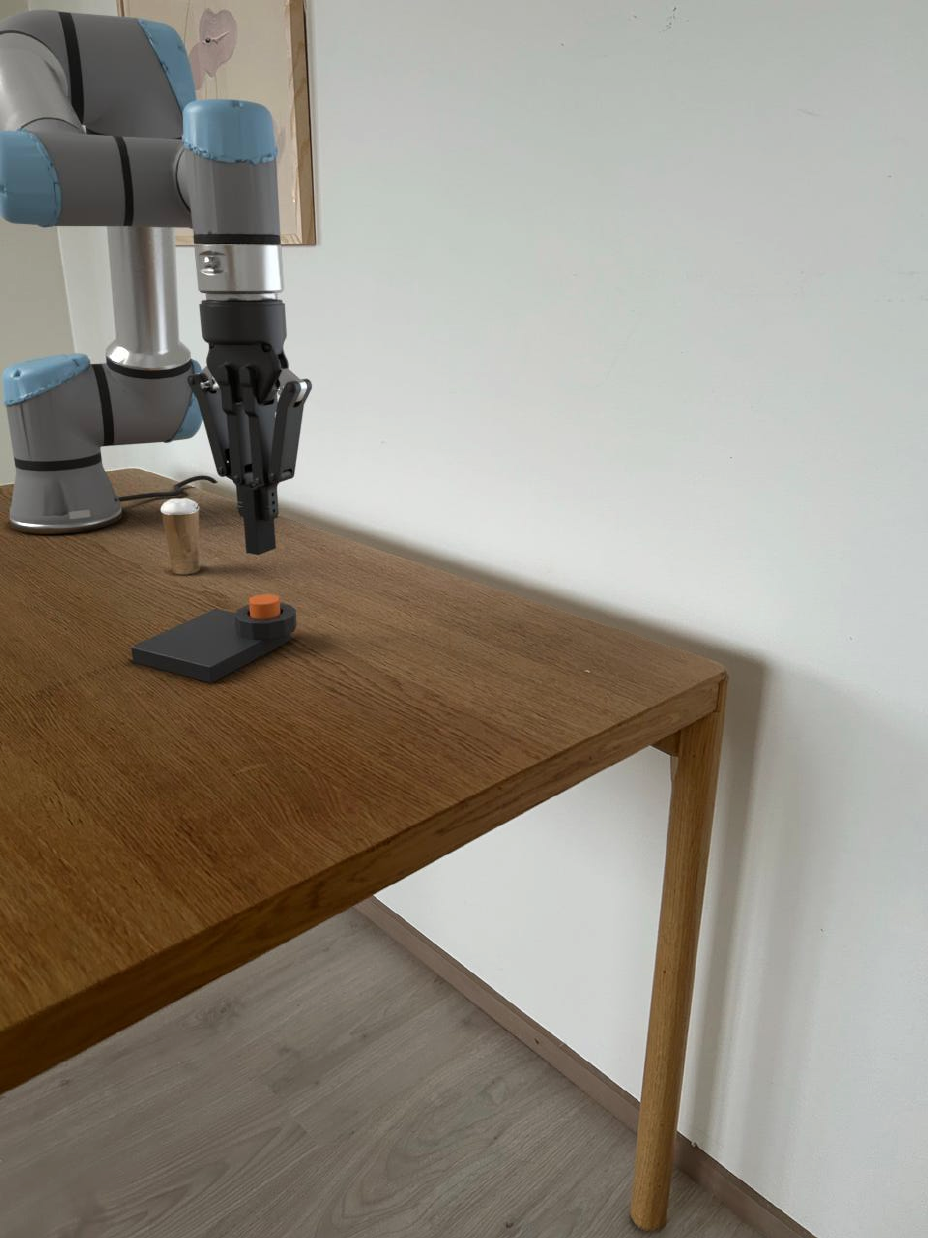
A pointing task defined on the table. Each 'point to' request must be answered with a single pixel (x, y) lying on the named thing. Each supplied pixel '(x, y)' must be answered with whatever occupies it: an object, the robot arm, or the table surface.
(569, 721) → the table surface
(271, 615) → the button
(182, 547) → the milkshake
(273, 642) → the scale
